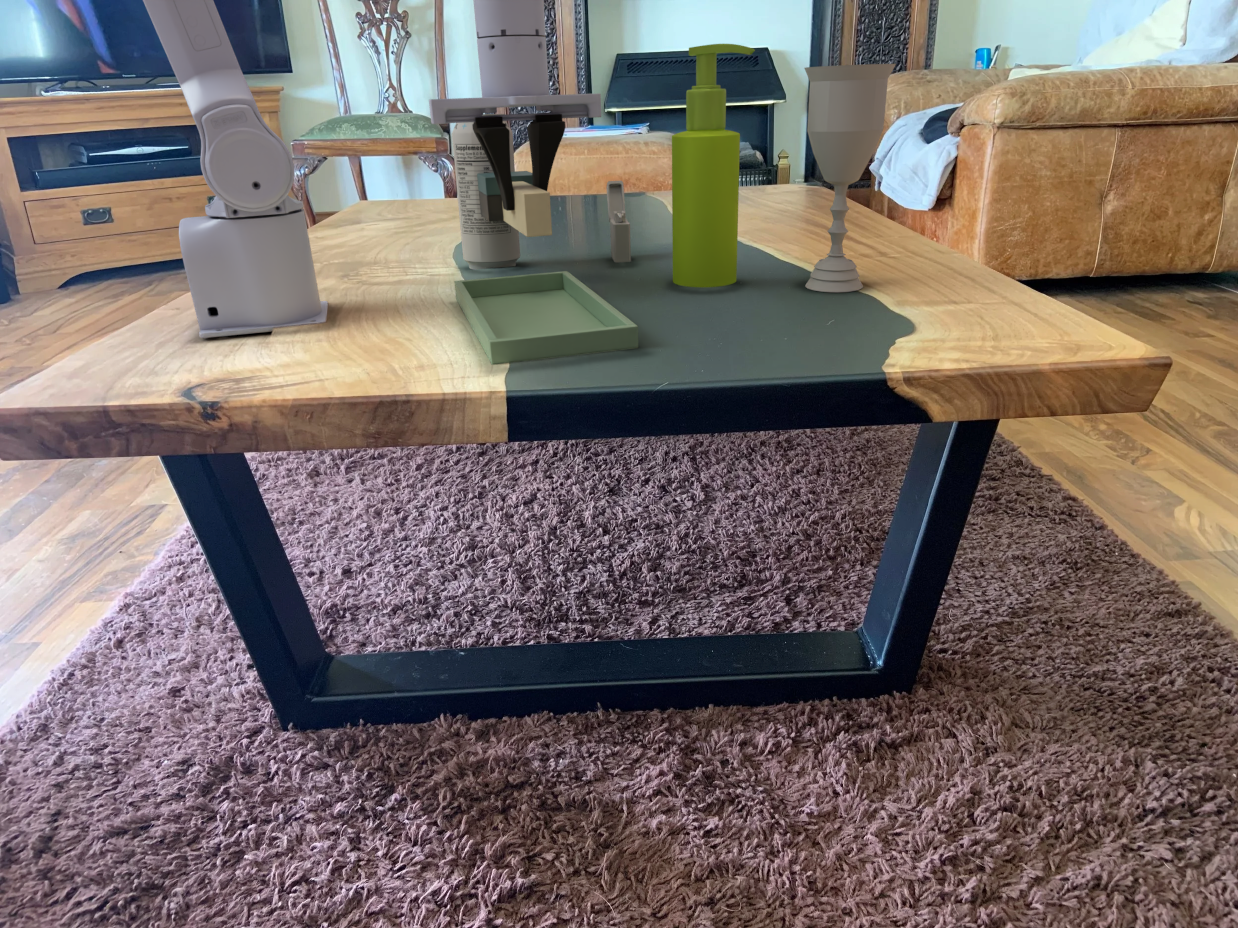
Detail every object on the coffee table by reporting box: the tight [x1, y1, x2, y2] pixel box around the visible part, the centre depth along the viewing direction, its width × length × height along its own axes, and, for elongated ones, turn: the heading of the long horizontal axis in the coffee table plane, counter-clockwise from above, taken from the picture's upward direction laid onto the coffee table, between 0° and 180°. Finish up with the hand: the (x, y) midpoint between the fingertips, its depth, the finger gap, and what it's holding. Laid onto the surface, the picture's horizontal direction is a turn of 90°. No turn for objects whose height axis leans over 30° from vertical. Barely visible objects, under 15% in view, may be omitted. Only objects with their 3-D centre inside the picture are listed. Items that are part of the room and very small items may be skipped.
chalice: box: [803, 63, 897, 293], centre depth 72 cm, size 7×7×18 cm
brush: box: [477, 170, 553, 238], centre depth 76 cm, size 16×5×4 cm, turn 18°
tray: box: [453, 270, 639, 366], centre depth 65 cm, size 21×10×2 cm, turn 17°
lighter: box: [606, 180, 632, 263], centre depth 89 cm, size 7×2×8 cm, turn 6°
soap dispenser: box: [671, 43, 756, 288], centre depth 73 cm, size 6×7×20 cm
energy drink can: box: [451, 113, 521, 271], centre depth 86 cm, size 6×6×15 cm
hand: (524, 208), depth 75 cm, fingers closed on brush, 2 cm apart
